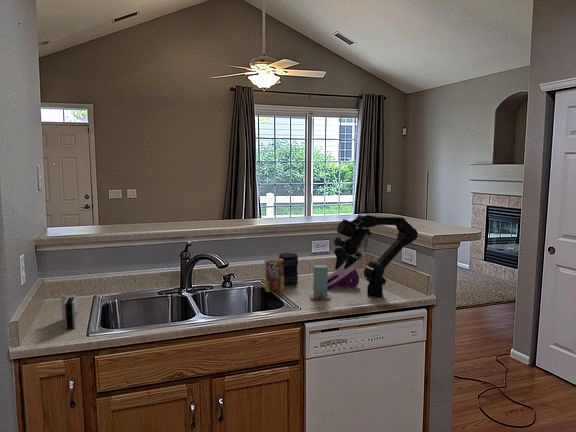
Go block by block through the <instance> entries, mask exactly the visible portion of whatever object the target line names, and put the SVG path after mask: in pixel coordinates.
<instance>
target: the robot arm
mask: <svg viewBox="0 0 576 432" xmlns="http://www.w3.org/2000/svg"><path fill="white" fill-rule="evenodd" d="M376 226H395V227H396V229H397V231H398V233H397V236H396V239H395V241H394V242H393V243H392V244H391V245H390V246H389V247H388V248H387V249H386V250H385V252H384V253H383V254H382V255H381V256H380V257H379V258H378V259H377V260H376V261H372V260H370V261H369V262H368V264H367V265H365V266H364V270H363V276H364V277H365V278H366V281H367V282H368V284H367V289H366V290H367V293H366V294H367V297H370V298H381V299H382V298H383V294H384V290H383V289H384V285H386V283H387V279H386V278H385V277H384V276H383V275H384V274H385V270H386V267H387V266H388V265H389V264H390V263H391V262H392V261H393V259H394V258H395V257H397V255H398V254H399V253H400V252H401V251H402V249H403V248H404V247H406V246H408V245H411V243H413V242H415V240H417V238H418V236H419V233H418V230H417V229H416V228H414V226H412V225H411V224H410V223H409V222H408V221H407V220H406V218H404V217H402V216H398V215H396V216H374V215H369V214H364V213H359V214H358V215H357V217H356V218H354V219H352V220H351V221H349V220H347V219H345V218H343V219H342V221H340V222H339V224H338V225H337V227H336V232H337V234H338V235H339V234H340V235H343V236H345V237H347V239H346V240H345V239H342V238H341V237H336V238H334V240H333V244H334V246H335V247H336V248H335V249H334V251H333V253H334V255H335V258H336V260H335V267H334V269H335V270H336V271H337V270H339V269H340V268H342V267H343V266H344V269H347V268H348V267H352V265H354V264H356V263H357V262H358V261H360V260H361V259H362V258H363V256H364V255H363V252H361V251H360V250H359V249H360V248H362V246H363V244H362V243H363V241H364V239H365V238H366V236H370V237H371V236H372V234H371V230H370V229H369V228H373V227H376Z"/></svg>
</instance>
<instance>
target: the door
mask: <svg viewBox="0 0 576 432" xmlns="http://www.w3.org/2000/svg"><path fill="white" fill-rule="evenodd" d="M312 272H313V273H312V276H313V285H312V290H313V294H314V297H315V292H319V297H323V291H327V292H328V290H327V282H328V276H329V275H328V273H329V269H328V265H313V269H312Z"/></svg>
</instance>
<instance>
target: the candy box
mask: <svg viewBox="0 0 576 432" xmlns="http://www.w3.org/2000/svg"><path fill="white" fill-rule="evenodd" d="M264 291H265V292H266V293H273V292H284V291H285V286H284V260H283V259H279V258H271V259H264Z"/></svg>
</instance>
